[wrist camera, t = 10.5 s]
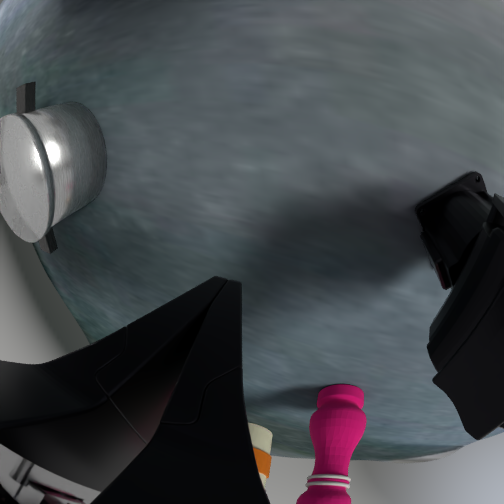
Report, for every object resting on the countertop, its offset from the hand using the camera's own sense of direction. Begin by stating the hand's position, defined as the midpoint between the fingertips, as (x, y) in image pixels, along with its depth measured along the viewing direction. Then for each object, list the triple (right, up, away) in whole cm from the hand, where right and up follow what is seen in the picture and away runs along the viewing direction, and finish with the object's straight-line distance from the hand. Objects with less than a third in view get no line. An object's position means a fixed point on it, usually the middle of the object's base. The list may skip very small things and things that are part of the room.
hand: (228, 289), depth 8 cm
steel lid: (-23, +8, +9) cm, 26 cm away
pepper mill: (+13, -18, +23) cm, 32 cm away
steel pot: (-19, +12, +15) cm, 27 cm away
